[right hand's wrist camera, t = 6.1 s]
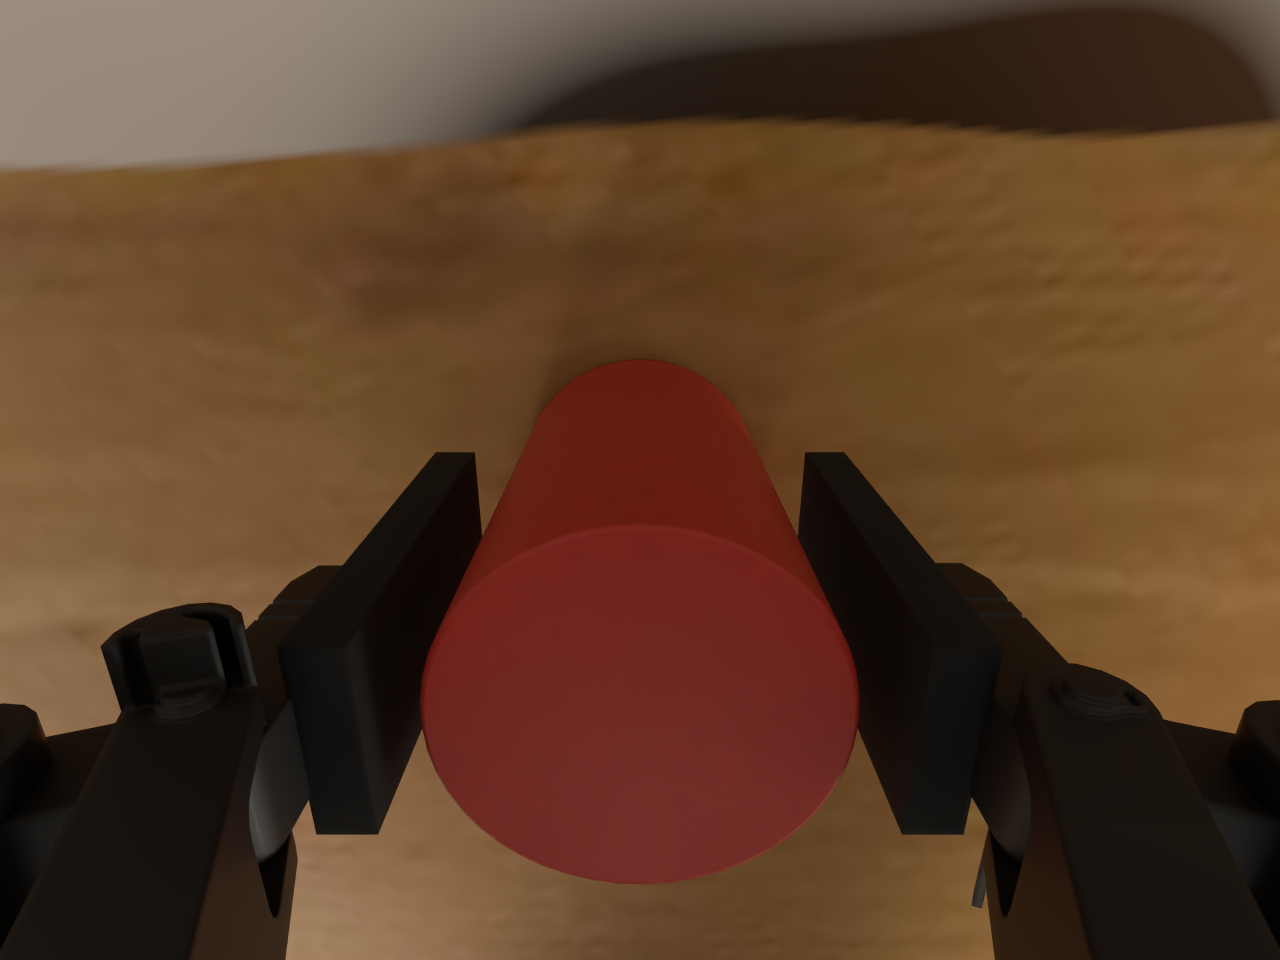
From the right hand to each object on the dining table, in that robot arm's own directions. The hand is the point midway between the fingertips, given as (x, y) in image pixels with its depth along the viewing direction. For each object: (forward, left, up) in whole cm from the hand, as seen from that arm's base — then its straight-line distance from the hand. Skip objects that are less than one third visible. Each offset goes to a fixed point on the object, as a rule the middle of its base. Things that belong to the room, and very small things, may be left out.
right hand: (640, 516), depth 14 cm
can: (0, 0, -3) cm, 3 cm away
